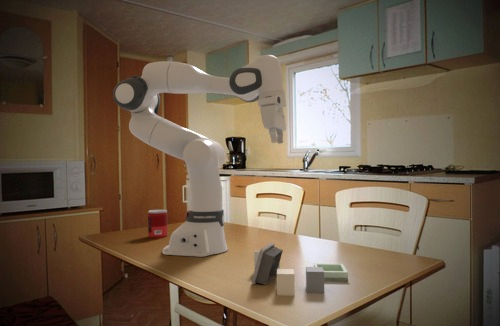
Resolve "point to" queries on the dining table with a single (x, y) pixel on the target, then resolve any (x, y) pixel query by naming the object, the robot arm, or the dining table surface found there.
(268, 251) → the electrical switch
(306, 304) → the dining table surface
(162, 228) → the canned food
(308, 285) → the grey part
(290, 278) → the beige part
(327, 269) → the tray
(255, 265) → the label plate
